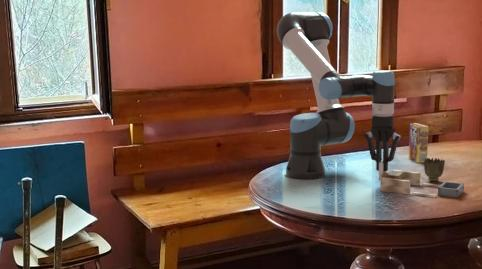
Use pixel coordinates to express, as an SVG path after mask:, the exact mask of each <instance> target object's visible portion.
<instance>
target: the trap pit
mask: <svg viewBox="0 0 482 269" xmlns="http://www.w3.org/2000/svg"><path fill="white" fill-rule="evenodd" d="M439 185H440V186H439V187H438V188H437V196H439V197H447V198H453V199H459V197H460V196H461V195H462V194H463V193H464V190H465V183H461V182H453V181H443V183H441V184H439Z"/></svg>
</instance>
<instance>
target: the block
mask: <svg viewBox="0 0 482 269" xmlns="http://www.w3.org/2000/svg"><path fill="white" fill-rule="evenodd" d="M382 177H384V178H392V179H401V180H403V172H397V171H392V170H387V171H386V172H384V173H383V174H382Z"/></svg>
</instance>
